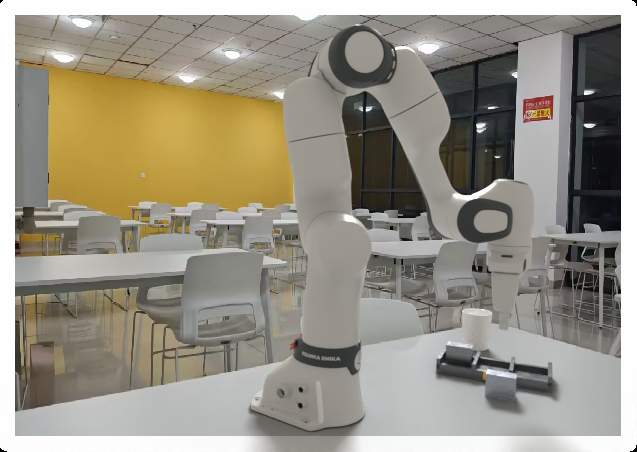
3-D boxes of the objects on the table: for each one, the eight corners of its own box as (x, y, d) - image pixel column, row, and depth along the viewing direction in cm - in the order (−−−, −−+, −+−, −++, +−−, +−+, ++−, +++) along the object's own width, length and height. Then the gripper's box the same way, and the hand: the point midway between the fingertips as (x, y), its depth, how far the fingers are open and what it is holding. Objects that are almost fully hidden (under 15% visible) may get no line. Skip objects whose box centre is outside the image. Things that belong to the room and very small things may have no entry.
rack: (435, 373, 121) (436, 348, 120) (443, 359, 130) (444, 336, 130) (551, 393, 111) (553, 366, 110) (551, 377, 120) (552, 352, 120)
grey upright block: (484, 396, 109) (486, 373, 108) (486, 391, 111) (487, 369, 111) (514, 402, 106) (516, 378, 106) (515, 396, 109) (517, 373, 108)
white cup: (494, 352, 137) (496, 316, 136) (464, 351, 137) (466, 315, 136) (485, 343, 144) (487, 308, 144) (457, 342, 145) (458, 307, 144)
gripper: (497, 250, 117) (494, 309, 118) (487, 263, 98) (484, 334, 99) (526, 252, 114) (523, 313, 116) (523, 266, 96) (519, 338, 97)
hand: (505, 323), depth 107 cm, fingers open, 8 cm apart
